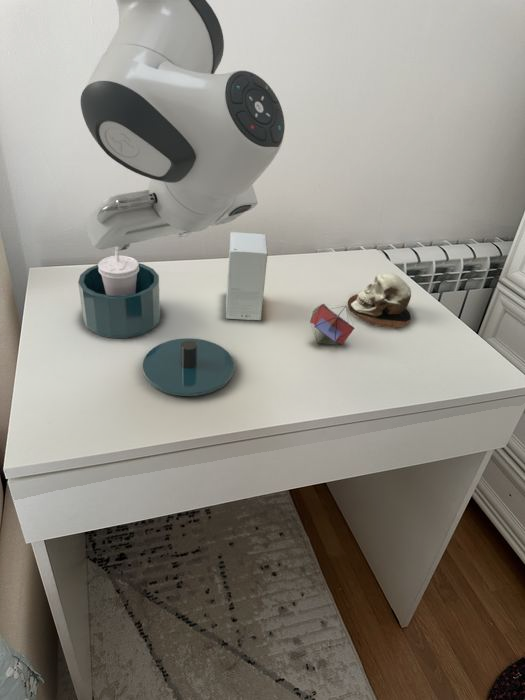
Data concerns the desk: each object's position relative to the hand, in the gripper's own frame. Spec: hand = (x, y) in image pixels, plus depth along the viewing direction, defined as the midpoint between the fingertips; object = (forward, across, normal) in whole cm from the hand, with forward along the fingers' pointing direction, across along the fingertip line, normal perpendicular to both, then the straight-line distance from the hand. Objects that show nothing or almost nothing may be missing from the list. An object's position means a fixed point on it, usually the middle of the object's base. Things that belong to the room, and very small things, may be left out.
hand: (150, 238), depth 72 cm
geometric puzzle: (+5, +27, -22) cm, 35 cm away
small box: (+17, +20, -11) cm, 29 cm away
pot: (+22, +1, -5) cm, 23 cm away
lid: (+9, +2, -18) cm, 20 cm away
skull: (+7, +42, -21) cm, 47 cm away
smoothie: (+22, +1, -5) cm, 23 cm away
